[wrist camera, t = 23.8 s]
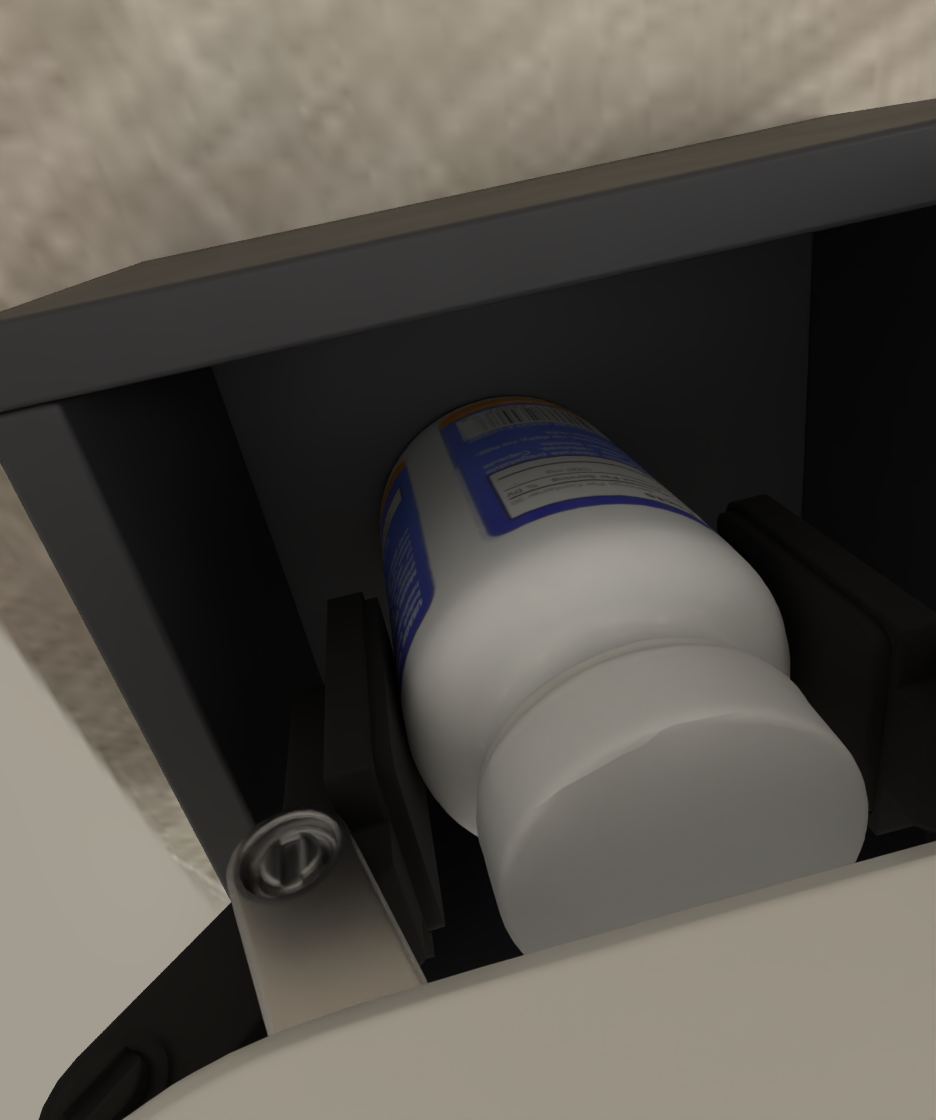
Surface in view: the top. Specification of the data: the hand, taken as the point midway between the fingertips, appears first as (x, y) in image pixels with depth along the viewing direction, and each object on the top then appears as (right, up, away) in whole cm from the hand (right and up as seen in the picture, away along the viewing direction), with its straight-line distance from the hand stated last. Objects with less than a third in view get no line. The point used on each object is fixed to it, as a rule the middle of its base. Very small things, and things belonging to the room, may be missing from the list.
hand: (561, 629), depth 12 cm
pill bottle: (-1, +2, +4) cm, 5 cm away
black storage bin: (0, +3, +5) cm, 6 cm away
